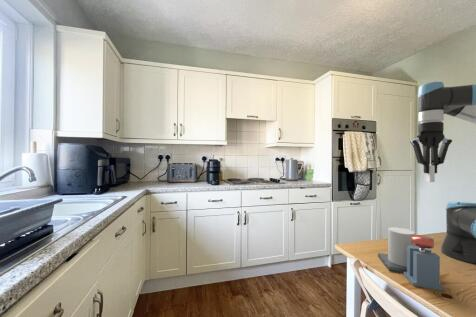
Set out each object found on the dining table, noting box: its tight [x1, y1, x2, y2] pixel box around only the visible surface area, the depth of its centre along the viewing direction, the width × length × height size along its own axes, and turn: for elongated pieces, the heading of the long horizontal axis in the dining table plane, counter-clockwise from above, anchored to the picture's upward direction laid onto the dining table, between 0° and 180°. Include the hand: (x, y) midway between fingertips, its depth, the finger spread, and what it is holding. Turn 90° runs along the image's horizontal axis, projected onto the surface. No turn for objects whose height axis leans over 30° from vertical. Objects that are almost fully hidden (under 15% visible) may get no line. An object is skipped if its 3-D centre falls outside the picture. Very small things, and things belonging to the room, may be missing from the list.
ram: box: [412, 234, 435, 252], centre depth 71 cm, size 6×6×10 cm
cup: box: [387, 226, 416, 267], centre depth 82 cm, size 8×8×12 cm
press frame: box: [402, 246, 445, 291], centre depth 71 cm, size 8×7×10 cm
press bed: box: [377, 252, 407, 274], centre depth 82 cm, size 12×12×2 cm
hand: (430, 181), depth 84 cm, fingers closed
